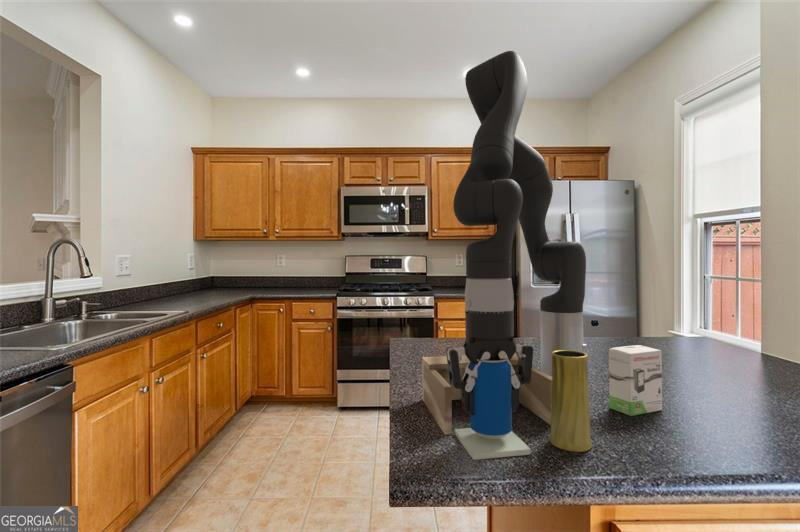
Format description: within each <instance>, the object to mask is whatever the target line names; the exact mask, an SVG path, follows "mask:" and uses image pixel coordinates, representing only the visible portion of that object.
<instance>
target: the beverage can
mask: <svg viewBox="0 0 800 532" xmlns="http://www.w3.org/2000/svg"><path fill="white" fill-rule="evenodd" d="M507 360H508V359H505V360H498V361H494V360H488V361H485V360H482V361H481V364H480V365H479V366H478V368H477V378H476V379H475V385H474V387H473V389H472V391H473V392H474V415H469V425H470V426H469V428H471V429H472V430H473V431H475V432H476V434H478V435H479V436H481V437H484V438H490V439H498V438H503V437H505V436H506V435H507V434H508V433H510V432H511V431H513V419H512V418H513V415H512V400H511V366H510V364H509V363H508V362H507ZM477 361H479V359H477ZM475 366H476V364H473V363H472V362H470V364H469V369H470V370H471V371H473V370H474V368H475Z"/></svg>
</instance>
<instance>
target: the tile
mask: <svg viewBox="0 0 800 532" xmlns="http://www.w3.org/2000/svg"><path fill="white" fill-rule="evenodd" d="M454 434H455V437H457V439H458V440H459V442H460V443H461V445H462V446H463V448H464V450H465V451H466V452H467V453H468V456H470V458H472V460H473V461H477V460H487V459H496V458H498V459H499V458H506V457H517V456H519V457H520V456H528V455H531V454H532V448H530V447H529V446H528V445H527V444H526V443H525V442H524V441H523V440H522V439H521V438H520V437H519V436H518V435H516V433H514V431H513V430H511V432H510V433H508V434H507V435H506V436H505V437H503V438H498V439H490V438H484V437H481V436H479V435H478V434H476V432H475V431H473V430H472V429H471V427H464V428H454Z"/></svg>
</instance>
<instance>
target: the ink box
mask: <svg viewBox="0 0 800 532" xmlns="http://www.w3.org/2000/svg"><path fill="white" fill-rule="evenodd" d="M662 353H663V352H662V350H661V349H657V348H653V347H650V346H646V345H641V344H636V345H635V344H634V345H625V346H616V347H611V348H609V349H608V373H609V374H608V377H609V379H608V383H609V385H608V386H609V390H608V391H609V393H608V395H609V397H608V398H609V409H611V410H614V411H617V412H619V413H622V414H625V415H627V416H629V417H633V416H638V415H644V414H648V413H653V412H659V411H662V410H663V364H662V363H663V362H662V361H663V354H662Z"/></svg>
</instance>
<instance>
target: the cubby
mask: <svg viewBox="0 0 800 532" xmlns="http://www.w3.org/2000/svg"><path fill="white" fill-rule="evenodd" d="M468 363H469V359H468V358H467V356H466V355H465V354H464V355H463V356H462V360H461V362H459V368H460V377H461V379H462V378H463V376H464V374H465V369H466V367H467V365H468ZM510 363H511V365H512V367H513V369H514V371H515V374H516V375H517V369H518V357H517V355H516V352H515V353H514V355H513V357H512V358H511V360H510ZM421 369H422V371H421V374H422V375H421V376H422V382H421V383H422V391H421V392H422V401H423V402H424V404H425V407H426V408H427V409H428V411H429V412H430V414H431V416H432V417H433V418H434V420H435V421H436V423H437V425H438V426H439V427H440V429H441V431H442V432H443V434H444V435H446V436H447V435H448V436H449V435H452V434H453V430H452V429H453V423H452V422H453V417H452V416H453V415H452V412H453V411H452V404H453V402H452V401H456V400H462V390H461V389H456V388H455V387H454V386H453V385H452V384H451V383H450V381H449V373H448V364H447V356H446V355H442V356H441V355H440V356H439V355H438V356H437V355H436V356H423V357H421ZM519 404H520V405H523V406H524V407H525V408H526V409H528V410H530V411H531V412H532V413H534V414H535V415H536V416H537V417H539V419H541V420H543V421H544V422H546V423H547V424H548V425H549V426H551V409H552V377H551V376H549V375H547V374H545V373H543V372H541V370H539V369H537V368H536V367H534V366H532V373H531V381H530V383H528V384H526V383H525V384H523V385H521V386H520V387H519Z"/></svg>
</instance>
